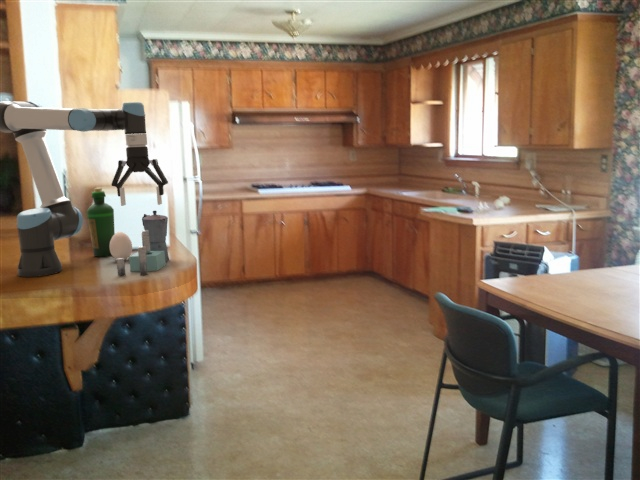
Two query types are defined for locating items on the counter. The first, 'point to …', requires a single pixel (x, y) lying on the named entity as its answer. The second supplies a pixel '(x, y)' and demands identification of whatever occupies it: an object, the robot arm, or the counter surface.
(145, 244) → the pin long
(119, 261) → the pin short
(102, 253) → the bottle
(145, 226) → the moka pot
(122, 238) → the egg
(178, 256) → the counter surface
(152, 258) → the teal square nut
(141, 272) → the pin medium
